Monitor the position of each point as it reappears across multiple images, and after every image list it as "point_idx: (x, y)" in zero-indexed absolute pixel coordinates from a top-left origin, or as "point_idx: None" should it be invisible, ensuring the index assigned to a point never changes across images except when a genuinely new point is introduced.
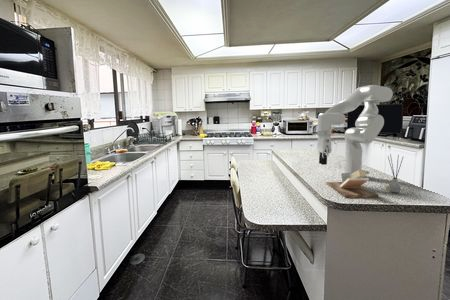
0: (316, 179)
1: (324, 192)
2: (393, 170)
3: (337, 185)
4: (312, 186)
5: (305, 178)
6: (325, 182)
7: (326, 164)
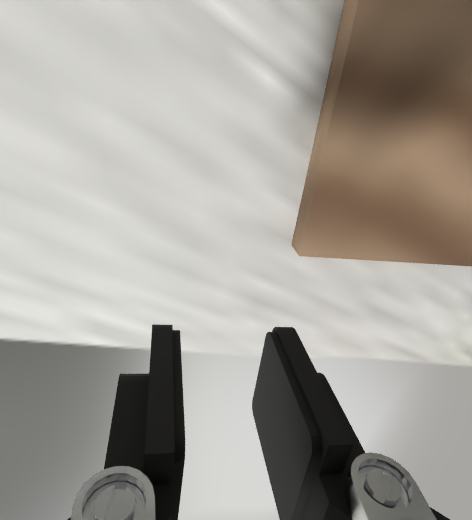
0: (56, 230)
1: (460, 333)
2: None
3: (435, 197)
4: None
5: (6, 324)
6: (306, 254)
7: (292, 329)
